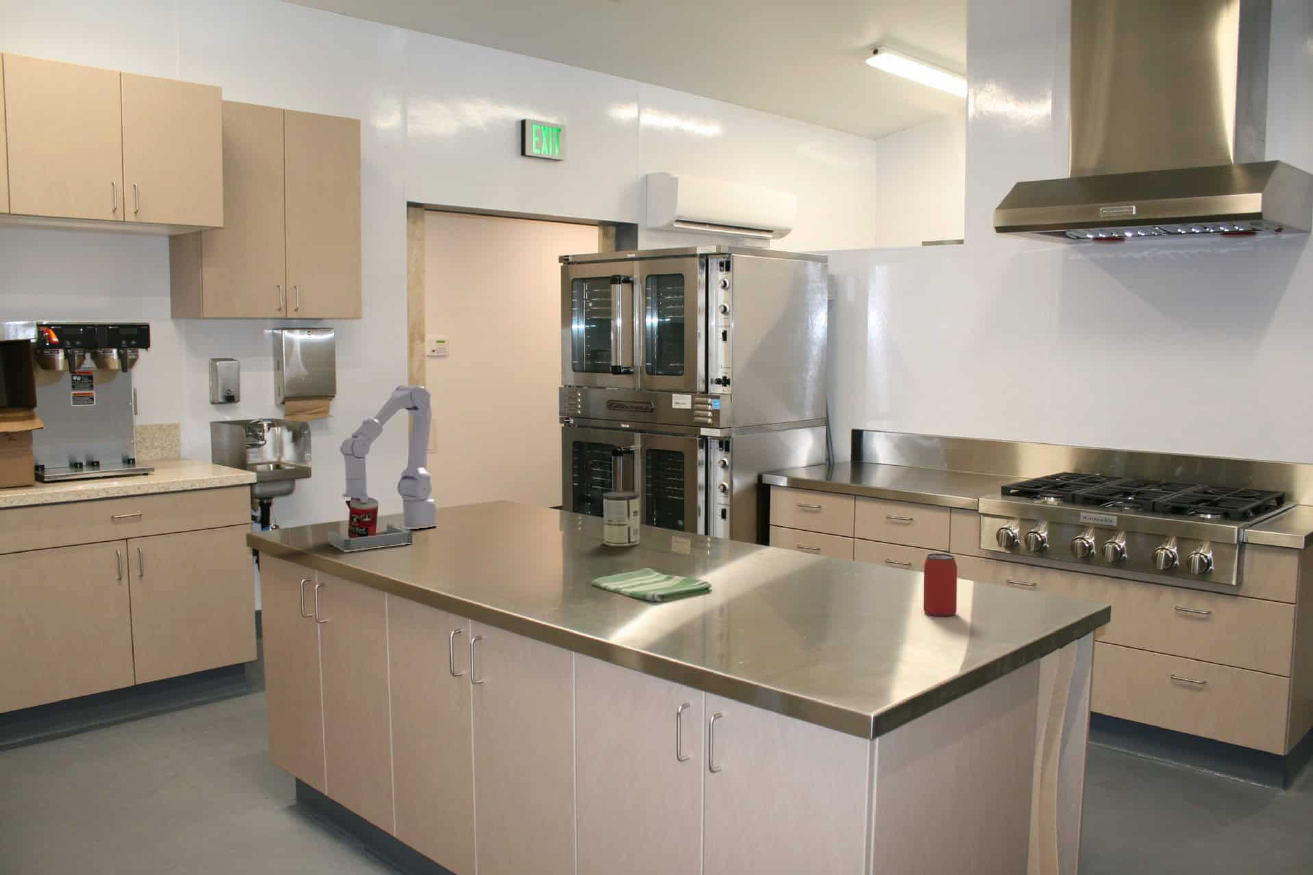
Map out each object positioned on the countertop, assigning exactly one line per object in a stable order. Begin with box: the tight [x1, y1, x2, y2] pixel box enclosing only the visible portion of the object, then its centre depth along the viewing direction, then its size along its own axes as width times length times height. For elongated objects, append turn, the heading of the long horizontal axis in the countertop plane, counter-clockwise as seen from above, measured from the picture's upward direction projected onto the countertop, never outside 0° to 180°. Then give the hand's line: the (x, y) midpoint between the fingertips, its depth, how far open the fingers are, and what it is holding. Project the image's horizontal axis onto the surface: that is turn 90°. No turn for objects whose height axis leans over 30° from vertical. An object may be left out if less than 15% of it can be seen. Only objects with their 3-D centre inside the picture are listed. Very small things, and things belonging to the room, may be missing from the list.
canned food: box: [347, 496, 379, 539], centre depth 292 cm, size 8×8×11 cm
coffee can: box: [602, 490, 641, 547], centre depth 285 cm, size 10×10×14 cm
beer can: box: [923, 552, 958, 618], centre depth 208 cm, size 7×7×12 cm
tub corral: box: [326, 523, 413, 550], centre depth 288 cm, size 19×16×4 cm
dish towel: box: [590, 567, 713, 603], centre depth 233 cm, size 18×23×3 cm
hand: (357, 524), depth 296 cm, fingers closed
